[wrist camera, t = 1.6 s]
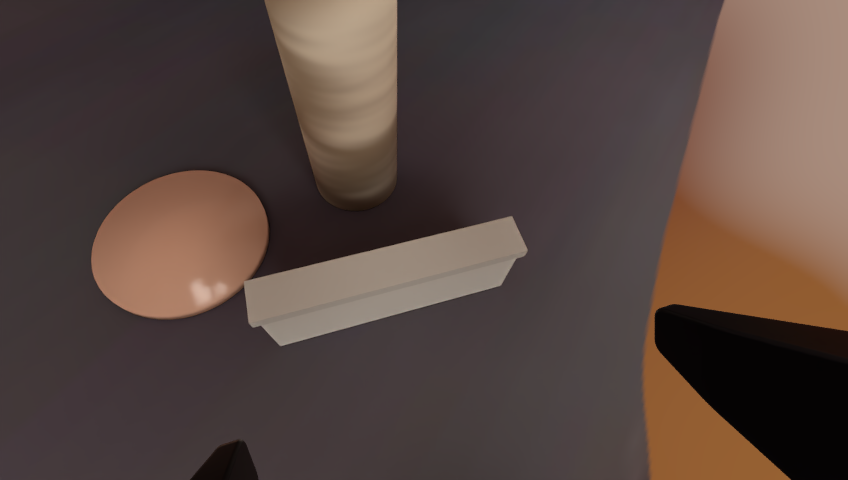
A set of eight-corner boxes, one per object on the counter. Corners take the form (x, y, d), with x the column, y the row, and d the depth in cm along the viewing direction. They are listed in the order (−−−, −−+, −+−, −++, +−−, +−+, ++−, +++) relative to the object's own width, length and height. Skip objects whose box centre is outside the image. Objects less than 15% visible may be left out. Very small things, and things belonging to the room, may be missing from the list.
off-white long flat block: (492, 258, 24) (511, 216, 20) (505, 288, 24) (527, 250, 20) (271, 315, 22) (243, 281, 18) (276, 351, 21) (248, 323, 17)
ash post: (412, 169, 27) (422, -22, 17) (365, 225, 25) (342, 46, 15) (349, 133, 28) (320, -67, 18) (298, 184, 26) (232, -9, 16)
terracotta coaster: (302, 224, 25) (300, 218, 24) (181, 354, 21) (176, 351, 20) (190, 153, 27) (186, 147, 26) (61, 261, 23) (53, 256, 22)
